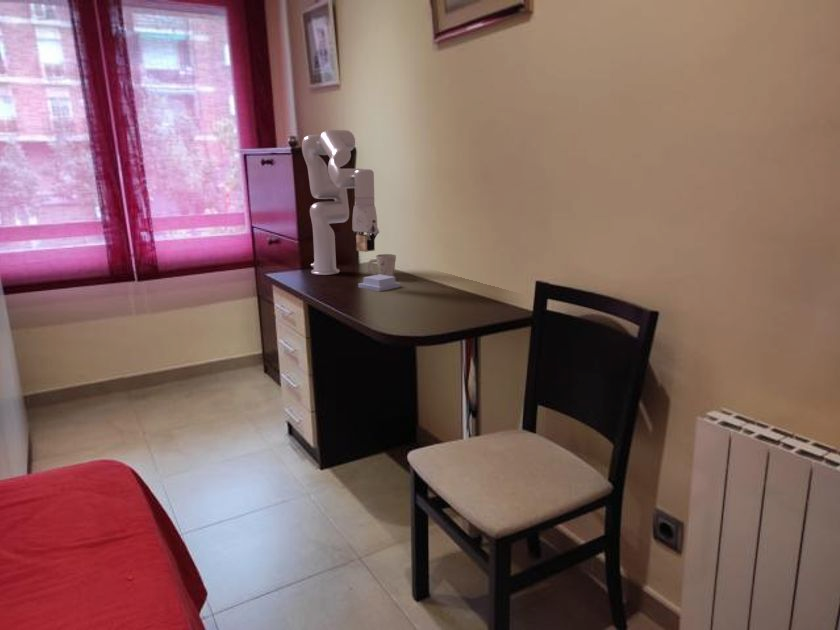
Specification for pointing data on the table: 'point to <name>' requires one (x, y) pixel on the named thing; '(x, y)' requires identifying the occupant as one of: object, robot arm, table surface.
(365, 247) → the beech block
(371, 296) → the table surface
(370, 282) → the plinth
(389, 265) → the mug
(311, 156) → the robot arm
